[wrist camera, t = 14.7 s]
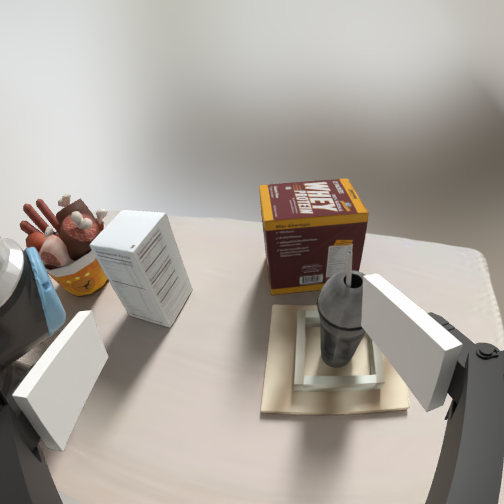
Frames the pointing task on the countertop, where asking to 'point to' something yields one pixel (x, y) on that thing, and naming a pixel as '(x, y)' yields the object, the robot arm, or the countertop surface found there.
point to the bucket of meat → (67, 244)
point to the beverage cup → (341, 316)
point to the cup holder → (324, 371)
